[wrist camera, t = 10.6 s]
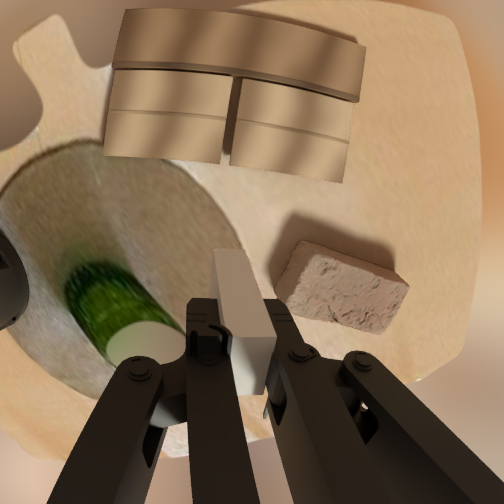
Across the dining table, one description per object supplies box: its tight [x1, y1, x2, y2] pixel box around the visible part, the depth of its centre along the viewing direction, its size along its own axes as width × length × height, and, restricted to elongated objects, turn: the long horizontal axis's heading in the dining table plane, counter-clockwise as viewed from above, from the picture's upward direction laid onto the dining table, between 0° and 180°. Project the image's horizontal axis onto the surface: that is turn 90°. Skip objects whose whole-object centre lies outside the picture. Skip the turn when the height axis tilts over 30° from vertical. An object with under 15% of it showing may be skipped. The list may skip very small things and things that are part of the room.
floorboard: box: [112, 8, 366, 103], centre depth 25 cm, size 26×7×2 cm, turn 81°
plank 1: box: [103, 70, 233, 164], centre depth 26 cm, size 12×9×1 cm
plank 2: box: [229, 79, 354, 184], centre depth 29 cm, size 12×9×1 cm
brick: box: [275, 240, 410, 335], centre depth 36 cm, size 17×8×5 cm, turn 69°
